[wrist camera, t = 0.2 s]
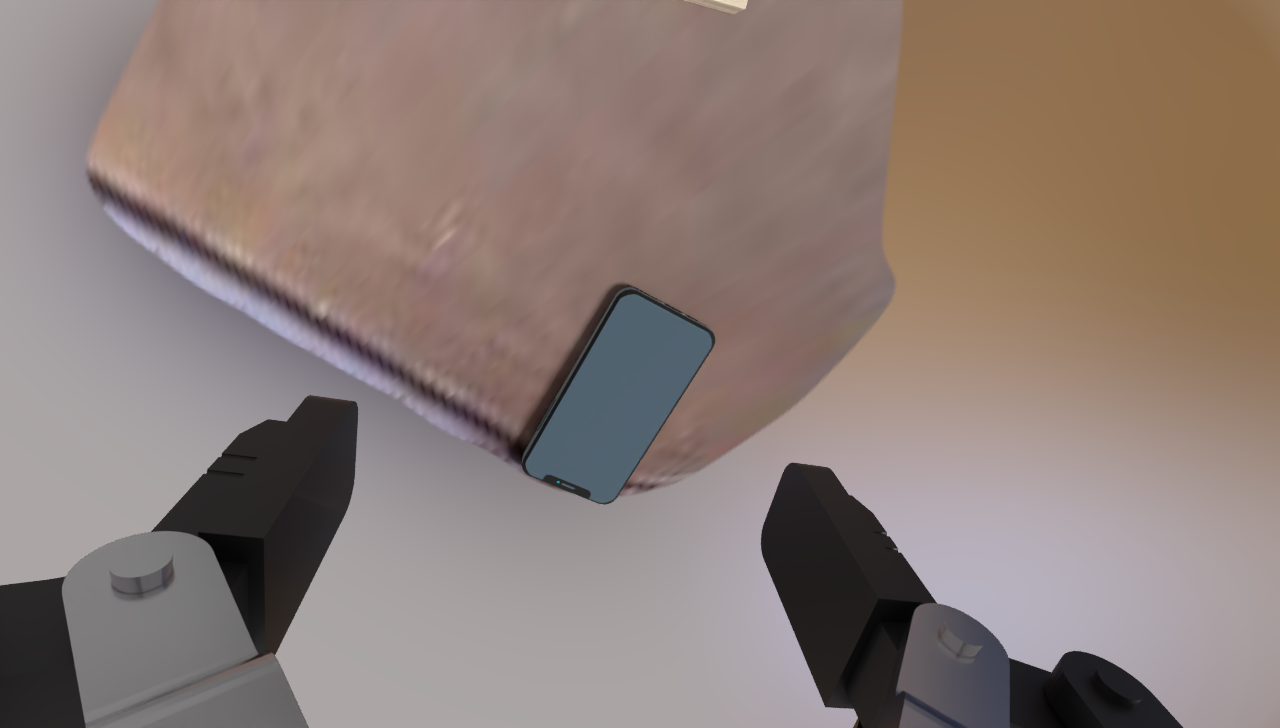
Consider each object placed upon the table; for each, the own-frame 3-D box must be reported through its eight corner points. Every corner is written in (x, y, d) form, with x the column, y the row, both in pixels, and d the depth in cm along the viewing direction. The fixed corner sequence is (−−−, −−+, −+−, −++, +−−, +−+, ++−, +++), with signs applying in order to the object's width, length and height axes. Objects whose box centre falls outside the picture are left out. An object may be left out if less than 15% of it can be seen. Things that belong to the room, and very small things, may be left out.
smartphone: (723, 336, 41) (611, 511, 45) (717, 328, 42) (609, 497, 46) (623, 283, 38) (515, 472, 42) (620, 276, 40) (516, 459, 44)
